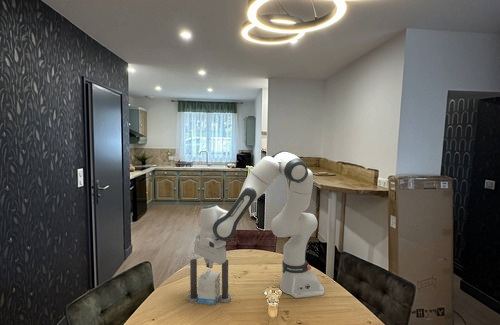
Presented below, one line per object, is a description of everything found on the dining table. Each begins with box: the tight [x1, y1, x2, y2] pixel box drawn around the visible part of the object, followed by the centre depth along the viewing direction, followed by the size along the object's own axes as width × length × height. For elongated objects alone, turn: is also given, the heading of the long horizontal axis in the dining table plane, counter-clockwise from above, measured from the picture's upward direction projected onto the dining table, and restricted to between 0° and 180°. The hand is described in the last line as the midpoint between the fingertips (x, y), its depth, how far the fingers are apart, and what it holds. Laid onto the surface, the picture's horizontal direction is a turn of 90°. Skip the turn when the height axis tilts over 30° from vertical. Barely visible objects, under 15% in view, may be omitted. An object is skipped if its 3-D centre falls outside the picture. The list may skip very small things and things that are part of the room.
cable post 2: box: [218, 258, 232, 304], centre depth 130 cm, size 6×6×19 cm
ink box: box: [197, 268, 221, 306], centre depth 130 cm, size 9×8×13 cm
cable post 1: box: [186, 258, 198, 304], centre depth 130 cm, size 6×6×19 cm
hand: (209, 267), depth 130 cm, fingers closed
